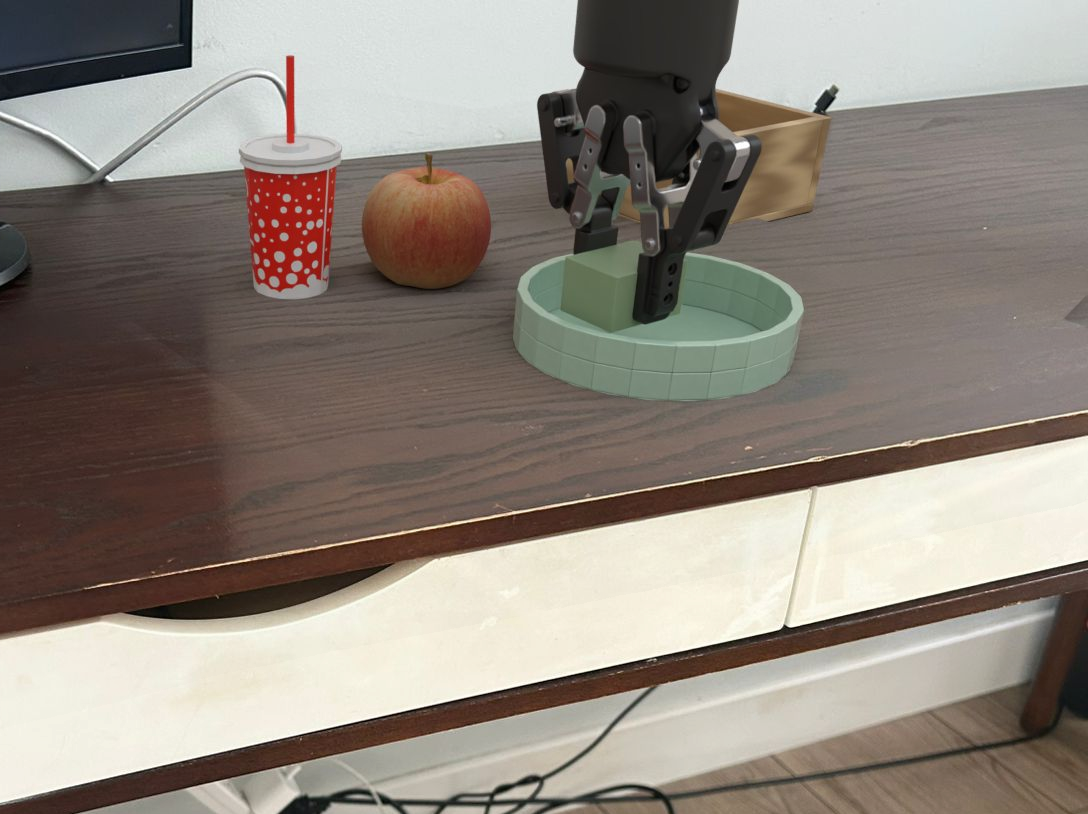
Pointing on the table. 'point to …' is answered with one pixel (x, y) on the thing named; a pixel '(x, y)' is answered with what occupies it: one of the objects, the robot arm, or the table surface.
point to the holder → (765, 159)
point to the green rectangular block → (606, 286)
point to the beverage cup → (290, 206)
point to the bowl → (667, 335)
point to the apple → (426, 227)
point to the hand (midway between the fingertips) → (620, 305)
